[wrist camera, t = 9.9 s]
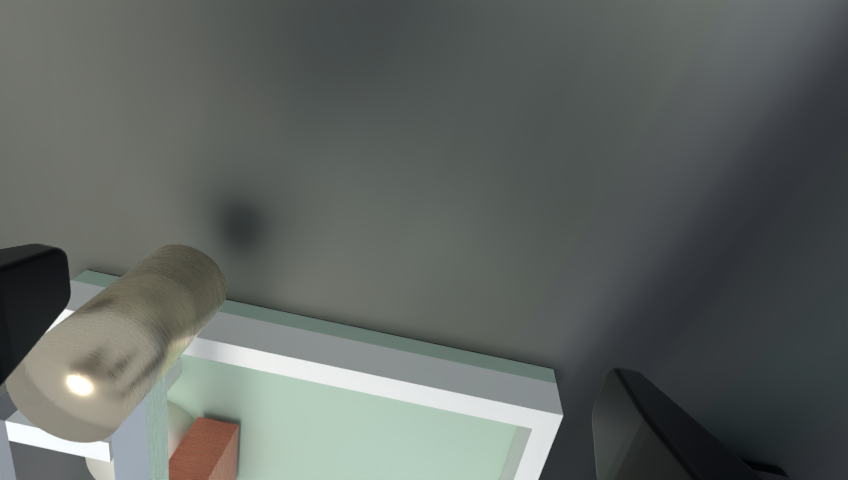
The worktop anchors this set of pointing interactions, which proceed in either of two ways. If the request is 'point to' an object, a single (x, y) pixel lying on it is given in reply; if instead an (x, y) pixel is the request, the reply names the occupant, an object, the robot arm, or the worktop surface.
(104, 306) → the cylinder
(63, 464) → the pitch
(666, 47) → the worktop surface
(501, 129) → the worktop surface
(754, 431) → the worktop surface
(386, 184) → the worktop surface
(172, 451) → the puck
